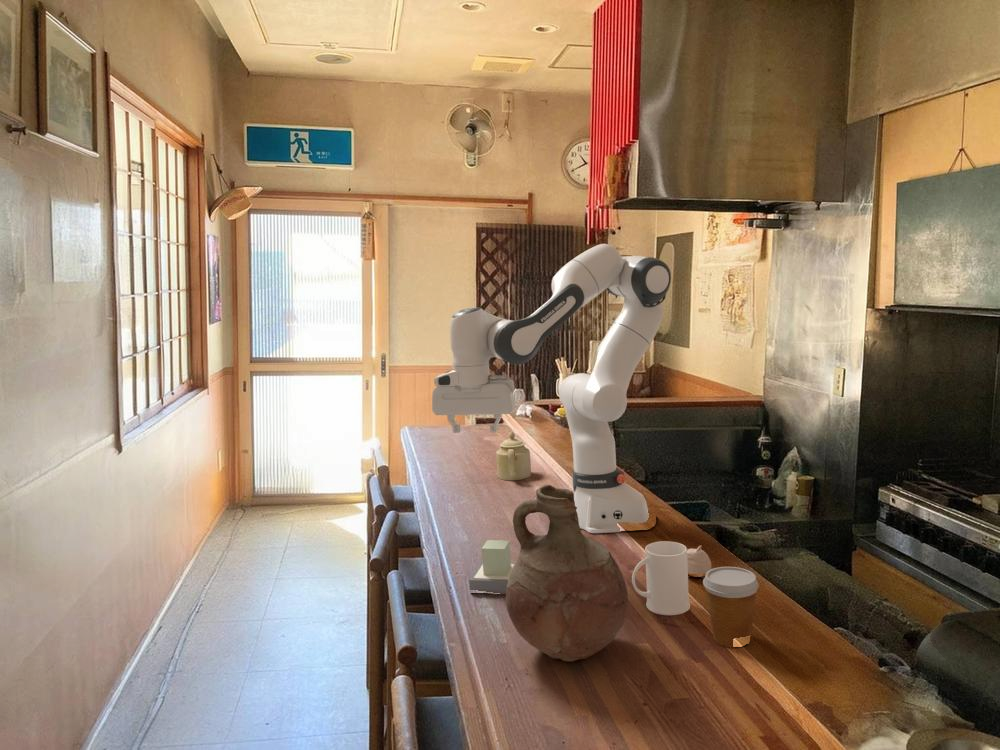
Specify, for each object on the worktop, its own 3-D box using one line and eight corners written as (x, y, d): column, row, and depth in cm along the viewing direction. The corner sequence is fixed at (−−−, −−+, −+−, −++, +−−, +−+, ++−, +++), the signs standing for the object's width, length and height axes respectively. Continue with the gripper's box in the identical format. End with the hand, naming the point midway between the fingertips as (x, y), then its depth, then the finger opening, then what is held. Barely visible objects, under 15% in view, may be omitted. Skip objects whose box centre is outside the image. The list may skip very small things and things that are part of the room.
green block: (511, 566, 172) (509, 540, 171) (506, 575, 167) (504, 548, 167) (489, 566, 173) (487, 540, 173) (483, 575, 169) (481, 548, 168)
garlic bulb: (678, 580, 167) (677, 544, 166) (682, 569, 173) (681, 534, 172) (710, 583, 164) (709, 546, 163) (713, 571, 170) (712, 536, 169)
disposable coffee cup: (752, 657, 134) (750, 590, 132) (697, 646, 139) (695, 581, 137) (765, 633, 142) (764, 570, 140) (713, 623, 147) (711, 562, 145)
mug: (640, 621, 149) (638, 561, 148) (624, 603, 158) (621, 546, 156) (697, 611, 152) (695, 552, 150) (678, 594, 160) (676, 538, 158)
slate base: (525, 576, 174) (524, 562, 174) (515, 595, 165) (514, 581, 164) (481, 574, 177) (481, 561, 176) (470, 593, 167) (469, 579, 167)
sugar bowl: (542, 479, 250) (539, 433, 248) (510, 485, 246) (507, 438, 244) (523, 469, 264) (520, 426, 262) (492, 474, 260) (489, 430, 258)
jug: (629, 685, 127) (621, 508, 123) (499, 681, 131) (487, 509, 127) (630, 624, 148) (624, 471, 144) (518, 622, 152) (509, 472, 148)
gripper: (516, 372, 189) (519, 428, 191) (435, 375, 193) (440, 430, 195) (510, 376, 182) (514, 434, 184) (427, 379, 187) (432, 435, 189)
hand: (475, 432), depth 190 cm, fingers open, 8 cm apart
